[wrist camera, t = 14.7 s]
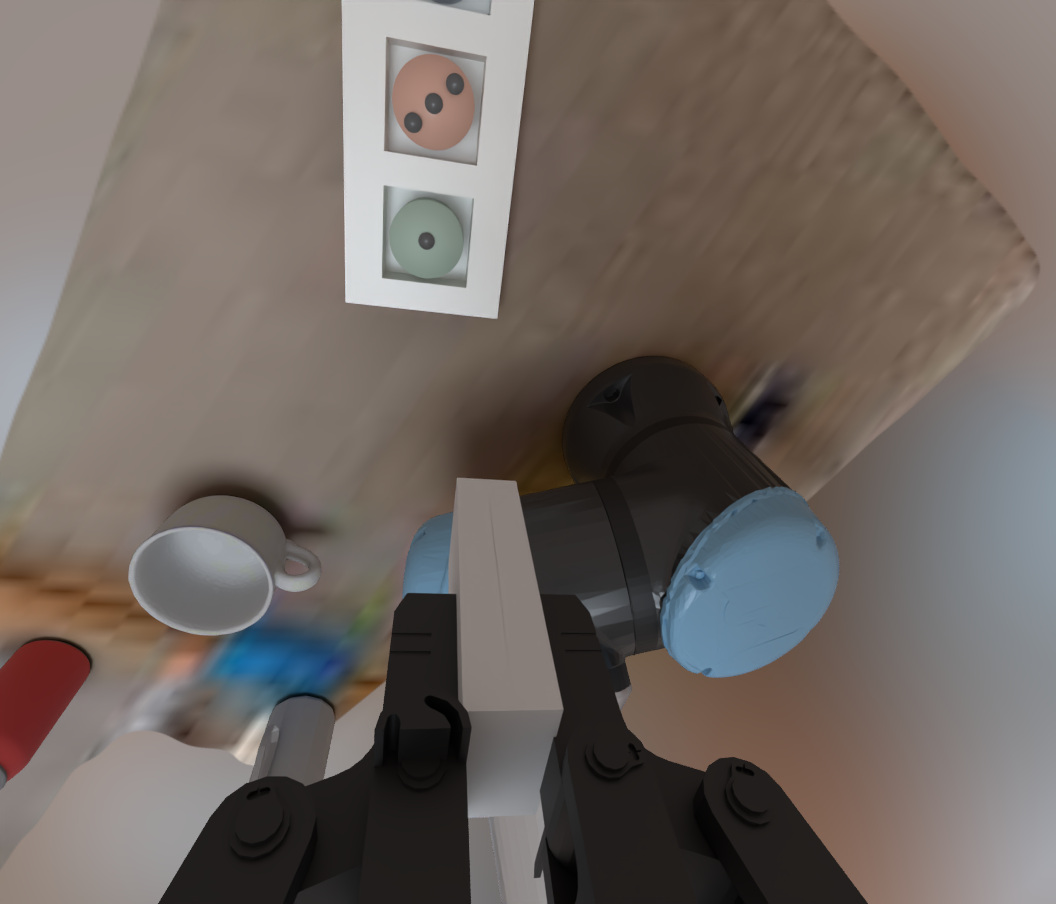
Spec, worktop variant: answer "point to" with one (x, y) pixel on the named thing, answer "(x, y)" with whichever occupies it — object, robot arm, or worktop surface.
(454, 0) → the two pip button
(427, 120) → the three pip button
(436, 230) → the one pip button
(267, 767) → the water bottle
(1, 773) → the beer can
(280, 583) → the teacup
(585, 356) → the worktop surface
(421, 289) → the button panel
